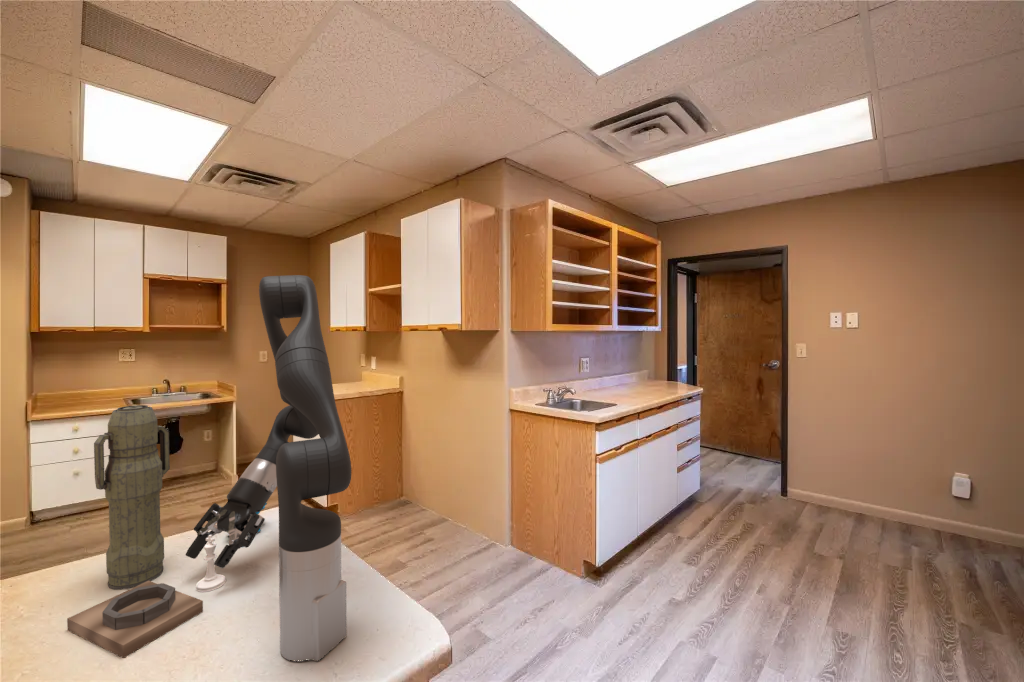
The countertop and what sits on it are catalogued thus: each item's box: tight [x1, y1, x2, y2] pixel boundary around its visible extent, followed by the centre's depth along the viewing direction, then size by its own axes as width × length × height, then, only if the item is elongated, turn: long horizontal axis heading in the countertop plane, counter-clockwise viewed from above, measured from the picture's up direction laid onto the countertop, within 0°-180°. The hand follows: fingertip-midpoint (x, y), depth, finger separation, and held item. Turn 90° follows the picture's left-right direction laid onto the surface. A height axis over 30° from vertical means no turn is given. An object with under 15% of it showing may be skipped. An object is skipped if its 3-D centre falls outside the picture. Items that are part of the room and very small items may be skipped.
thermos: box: [93, 404, 171, 590], centre depth 89 cm, size 9×12×35 cm
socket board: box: [66, 581, 204, 659], centre depth 76 cm, size 16×12×4 cm
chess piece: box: [195, 535, 227, 593], centre depth 87 cm, size 5×5×10 cm
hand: (203, 561), depth 86 cm, fingers open, 8 cm apart
